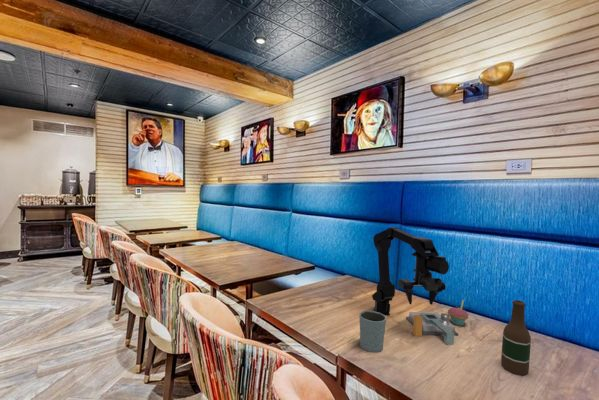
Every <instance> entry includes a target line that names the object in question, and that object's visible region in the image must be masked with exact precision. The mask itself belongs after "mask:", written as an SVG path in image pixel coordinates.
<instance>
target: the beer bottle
mask: <svg viewBox="0 0 599 400" xmlns="http://www.w3.org/2000/svg"><path fill="white" fill-rule="evenodd" d="M511 304H512V308H511V316H510V317H511V318H510V321H509V322H508V323H507V324H506V325H505V327H504V328H503V331H502V332H503V333H502V340H501V342H502V343H501V357H500V361H501V362H500V365H501V366H502V367H503V368H504V370H506V371H508V372H509V373H511V374H513V375H518V376H521V377H524V376H527V374H529V371H530V356H531V342H532V339H531V338H532V337H531V334H530V332H529V329H528V328H527V327H526V321H525V320H526V316H525V314H526V313H525V312H526V311H525V310H526V309H525V307H526V303H525V302H524V301H522V300H520V299H514V300H512V302H511Z"/></svg>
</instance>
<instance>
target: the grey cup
mask: <svg viewBox="0 0 599 400" xmlns="http://www.w3.org/2000/svg"><path fill="white" fill-rule="evenodd" d="M358 315H359V341H360V342H359V346H360V347H361V349H363V350H364V351H366V352H369V353H376V354H377V353H381V352H382V351H383V349H384V342H385V334H386V333H385V331H386V324H387V315H383V314H381V313H379V312H375V311H374V310H363V311H360V312H359V314H358Z"/></svg>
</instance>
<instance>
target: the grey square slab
mask: <svg viewBox="0 0 599 400" xmlns="http://www.w3.org/2000/svg"><path fill="white" fill-rule="evenodd" d="M414 315H420V316H422V317H423V322H422V336H424V335H425V336H443V343H444V344H445V345H446V344H453V345H454V344H455V337H456V336H459V333H458V332H456V326H455V324H453V323H452V322H450V320H451V317H450V315H449V314H448V313H445V312H443V313H439V312H427V311H426V312H425V311H424V312H422V311H421V312H419V311H409V313H408V316H405V318H406V320H407V321H408V322H409V323H410V324H411V325H412V326H413V322H414Z"/></svg>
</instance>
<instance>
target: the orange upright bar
mask: <svg viewBox="0 0 599 400" xmlns="http://www.w3.org/2000/svg"><path fill="white" fill-rule="evenodd" d="M422 322H423V317H422V316H420V315H414V322H413V325H412V327H413V328H412V334H413V335H414V336H415V337H422V336H423V335H422Z"/></svg>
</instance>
